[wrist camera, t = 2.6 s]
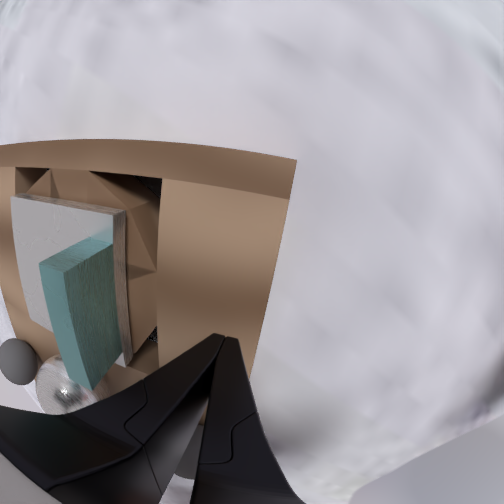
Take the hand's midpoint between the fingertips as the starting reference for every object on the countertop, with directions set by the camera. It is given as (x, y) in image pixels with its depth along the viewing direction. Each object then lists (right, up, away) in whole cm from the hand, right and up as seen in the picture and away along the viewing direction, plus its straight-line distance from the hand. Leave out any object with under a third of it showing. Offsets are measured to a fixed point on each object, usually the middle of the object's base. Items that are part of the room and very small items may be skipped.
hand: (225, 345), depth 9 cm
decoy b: (-16, -5, +4) cm, 17 cm away
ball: (-9, -5, +2) cm, 10 cm away
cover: (-8, +2, +2) cm, 8 cm away
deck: (-8, -1, +6) cm, 10 cm away
